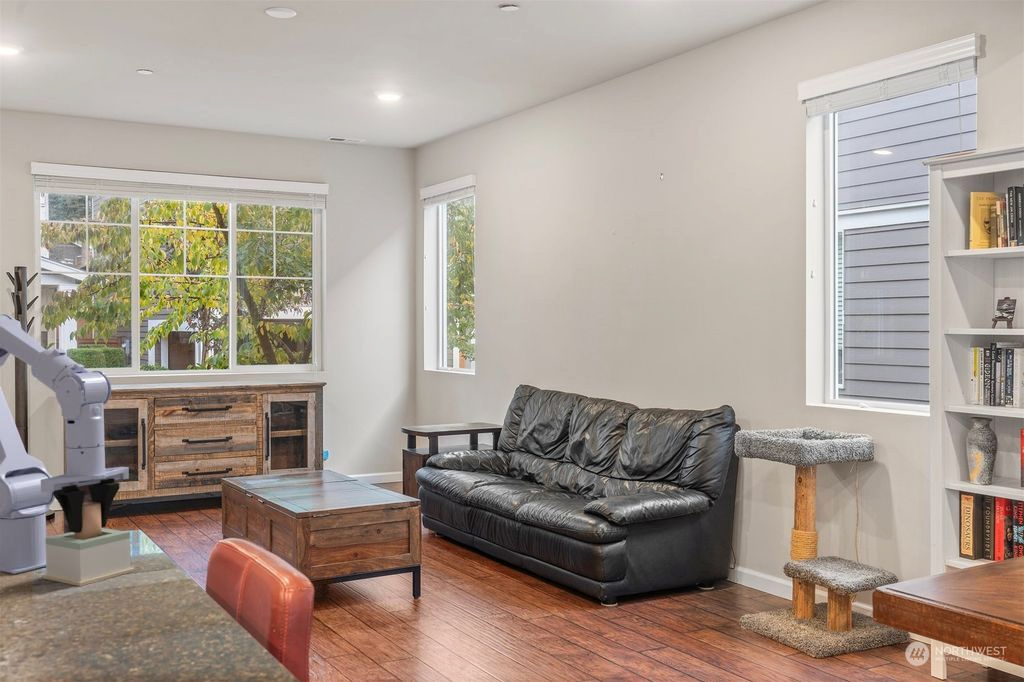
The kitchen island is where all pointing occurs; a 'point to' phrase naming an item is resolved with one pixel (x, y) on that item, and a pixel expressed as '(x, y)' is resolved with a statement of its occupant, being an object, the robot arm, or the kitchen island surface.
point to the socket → (87, 557)
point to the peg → (90, 521)
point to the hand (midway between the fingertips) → (87, 529)
